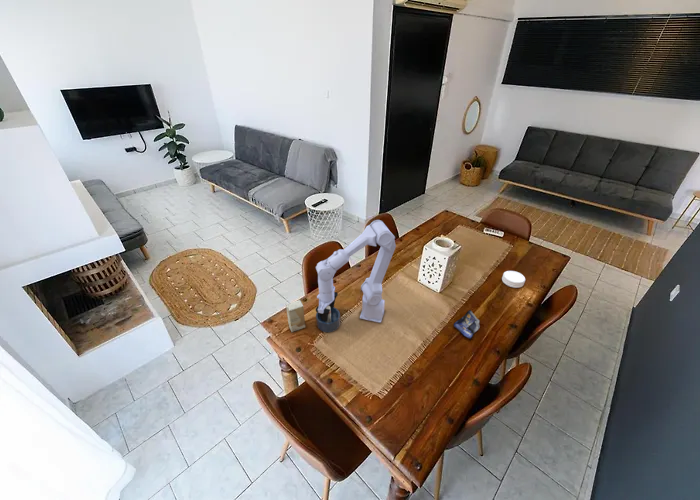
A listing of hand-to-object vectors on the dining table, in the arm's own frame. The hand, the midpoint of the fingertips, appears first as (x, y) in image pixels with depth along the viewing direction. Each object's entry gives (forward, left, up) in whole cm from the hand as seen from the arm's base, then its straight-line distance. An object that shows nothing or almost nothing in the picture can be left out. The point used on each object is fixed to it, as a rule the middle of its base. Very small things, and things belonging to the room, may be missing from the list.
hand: (328, 313), depth 126 cm
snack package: (-57, -13, -6) cm, 59 cm away
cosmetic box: (+12, +5, -6) cm, 14 cm away
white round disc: (-79, -51, -6) cm, 94 cm away
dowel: (0, 0, -5) cm, 5 cm away
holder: (0, 0, -6) cm, 6 cm away
